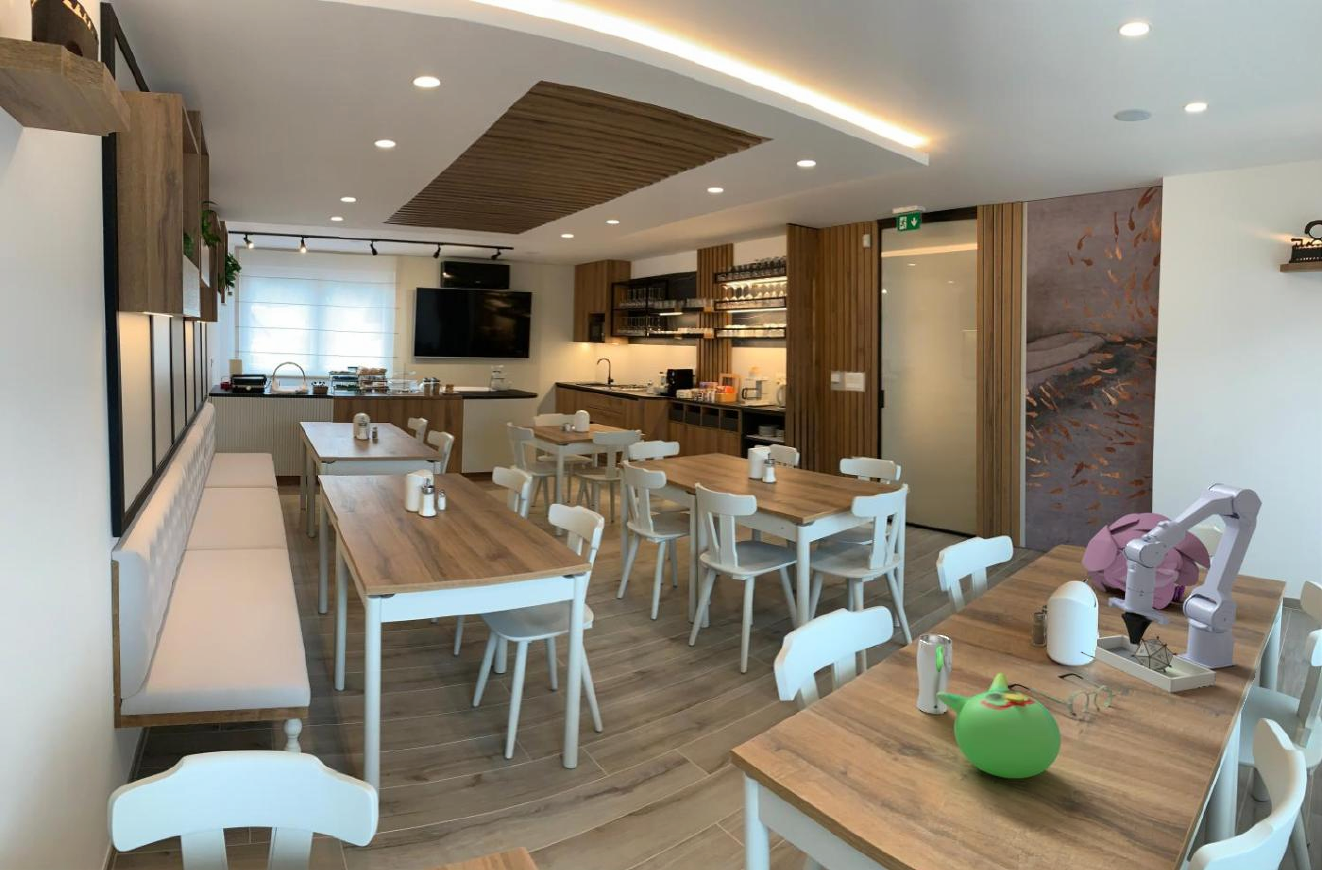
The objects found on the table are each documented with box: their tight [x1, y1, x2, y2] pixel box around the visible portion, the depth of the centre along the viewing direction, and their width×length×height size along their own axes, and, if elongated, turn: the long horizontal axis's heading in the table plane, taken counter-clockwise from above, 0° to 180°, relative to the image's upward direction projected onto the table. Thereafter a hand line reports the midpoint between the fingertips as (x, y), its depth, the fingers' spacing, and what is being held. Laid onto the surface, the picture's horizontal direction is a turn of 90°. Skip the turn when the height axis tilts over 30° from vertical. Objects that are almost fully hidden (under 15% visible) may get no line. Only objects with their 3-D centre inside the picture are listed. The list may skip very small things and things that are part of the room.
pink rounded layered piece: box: [1080, 512, 1212, 610], centre depth 234 cm, size 35×24×28 cm
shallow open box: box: [1094, 634, 1217, 693], centre depth 179 cm, size 14×24×3 cm, turn 18°
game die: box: [1130, 635, 1178, 672], centre depth 176 cm, size 9×8×10 cm
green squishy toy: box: [936, 672, 1062, 779], centre depth 133 cm, size 18×17×15 cm
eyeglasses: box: [1007, 672, 1117, 715], centre depth 163 cm, size 17×15×5 cm
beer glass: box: [915, 633, 953, 715], centre depth 155 cm, size 7×7×15 cm
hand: (1135, 643), depth 181 cm, fingers closed
